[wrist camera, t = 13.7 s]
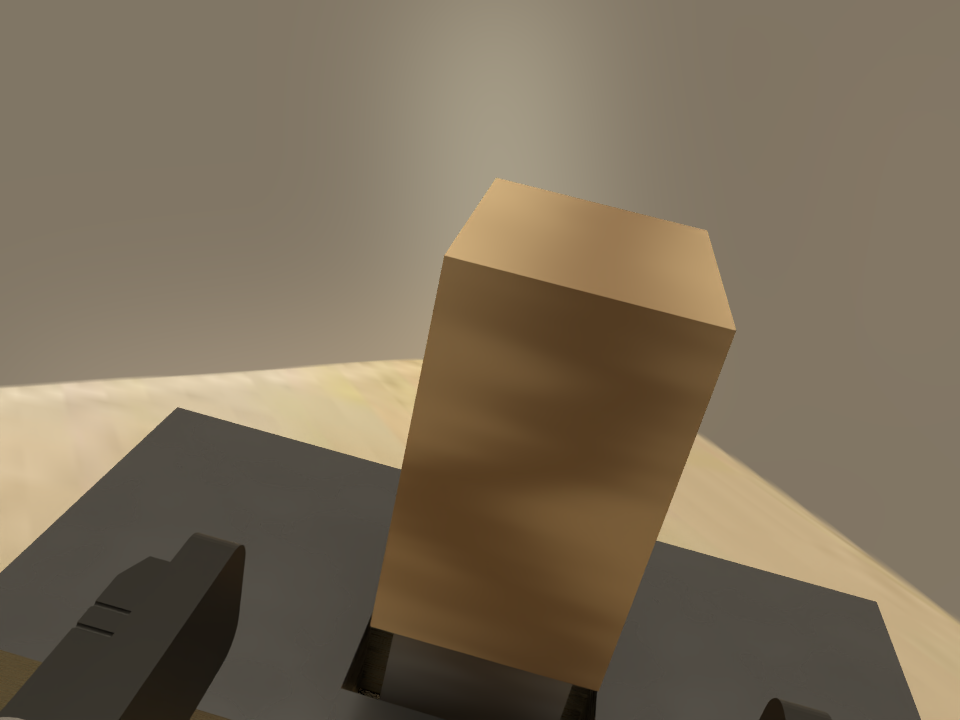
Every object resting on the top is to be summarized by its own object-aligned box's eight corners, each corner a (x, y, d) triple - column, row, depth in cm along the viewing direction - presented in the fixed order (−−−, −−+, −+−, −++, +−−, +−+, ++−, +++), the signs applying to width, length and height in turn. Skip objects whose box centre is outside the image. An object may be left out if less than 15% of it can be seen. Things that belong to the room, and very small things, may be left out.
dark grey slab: (-51, 729, 19) (-62, 630, 17) (173, 484, 28) (177, 407, 26) (939, 1037, 17) (1010, 955, 16) (836, 673, 26) (876, 602, 25)
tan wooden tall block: (342, 766, 20) (444, 255, 14) (403, 597, 25) (496, 177, 20) (546, 827, 20) (736, 330, 14) (565, 643, 25) (707, 230, 19)
